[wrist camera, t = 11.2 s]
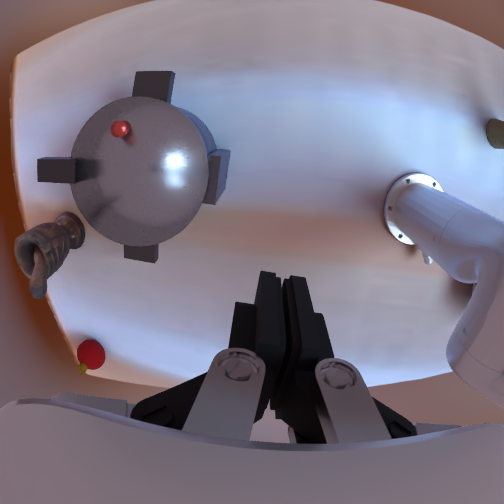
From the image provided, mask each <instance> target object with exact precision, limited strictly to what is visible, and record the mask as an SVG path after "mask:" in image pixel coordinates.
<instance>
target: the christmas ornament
mask: <svg viewBox="0 0 504 504" xmlns="http://www.w3.org/2000/svg"><path fill="white" fill-rule="evenodd" d="M77 357H78V360H79V362H80V365H79V366H78V368H79V373H80V371H81V374H82V372H84V373H85V372H86V370H87V369H91V370H94V369H98V368H100V367H101V366H102V365H103V363H104V361H105V351H104V349H103V347H102V346H101V345H100V344H99V343H98V342H96V341H94V340H86V341H83V342H82V343H81V344H80V345H79V347H78V349H77Z"/></svg>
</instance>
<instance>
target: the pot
mask: <svg viewBox="0 0 504 504" xmlns="http://www.w3.org/2000/svg"><path fill="white" fill-rule="evenodd" d="M174 78H175V73H174V72H172V71H138V72H136V75H135V81H134V87H133V93H132V97H137V96H141V97H150V98H155V99H159V100H162V101H164V102H167V103H169V104H170V103H171V96H172V90H173V84H174ZM176 108H177V107H176ZM178 109H179V110H181V111H182V112H183V113H184V114H186V115H187V116H188V117H189V119H190V120H191V121H192V122H193V123H194V125H195V126H196V127H197V129H198V130H199V132H200V134H201V136H202V138H203V141H204V143H205V146H206V149H207V154H208V159H209V181H208V186H207V191H206V194H205V197H204V200H203V202H202V203H206V204H213V205H215V204H216V202H217V201H218V199H219V197H220V196H221V194H222V193H223V191H224V190H225V185H226V178H227V171H228V164H229V157H230V150H223V149H219V150H217V149H216V145H215V142H214V139H213V137H212V135H211V133H210V131H209V130H208V128H207V127H206V125H205V124H204V123H203V122H202V121H201V120H200V119H199V118H198V117H196V116H195V115H193V114H192V113H190V112H188V111H186V110H184V109H181V108H178ZM158 244H159V243H158ZM158 244H155V245H150V246H129V245H124V258H128V259H133V260H139V261H144V262H150V263H155V262H156V261H157V260H158Z"/></svg>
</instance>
